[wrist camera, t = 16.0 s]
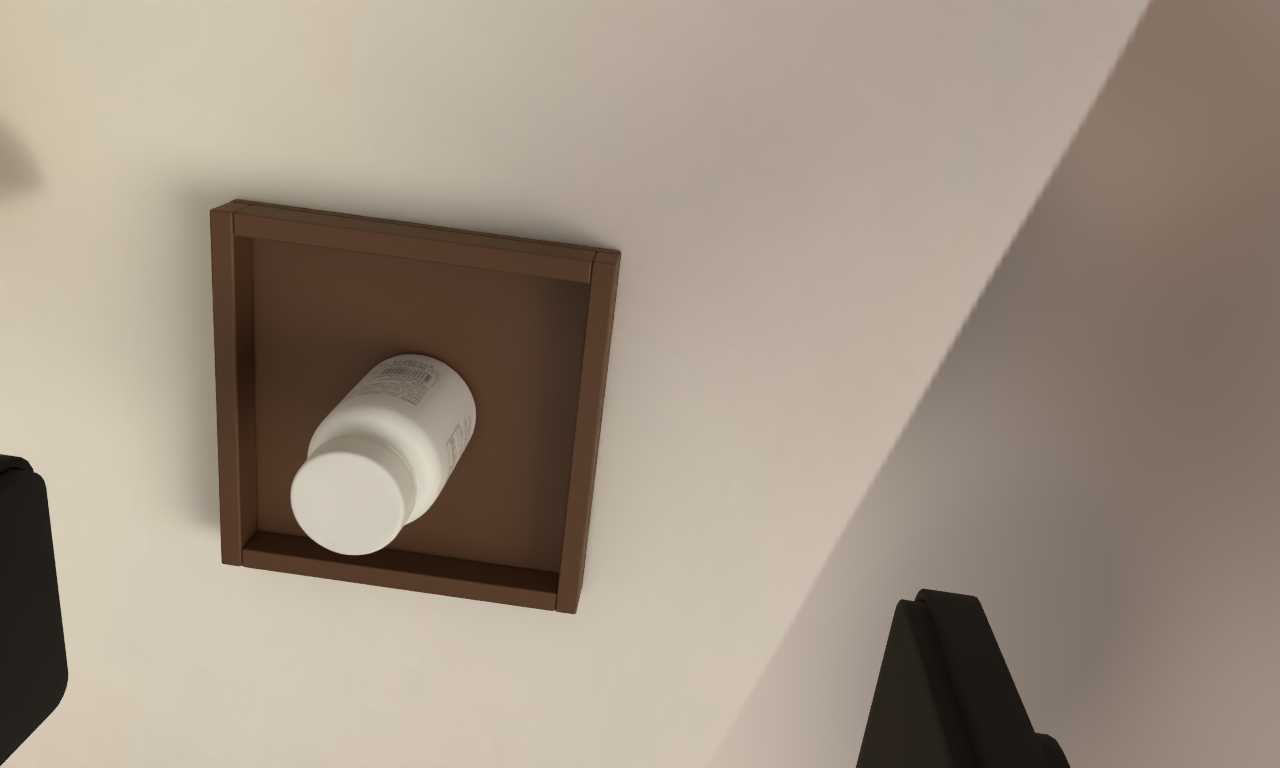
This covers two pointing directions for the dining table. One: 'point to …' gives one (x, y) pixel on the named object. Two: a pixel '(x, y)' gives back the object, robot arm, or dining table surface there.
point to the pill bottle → (383, 454)
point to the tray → (422, 325)
